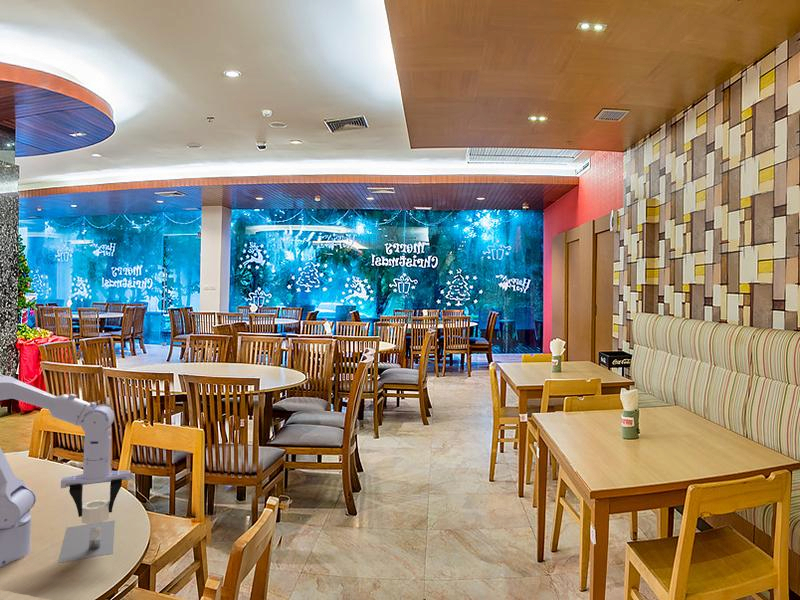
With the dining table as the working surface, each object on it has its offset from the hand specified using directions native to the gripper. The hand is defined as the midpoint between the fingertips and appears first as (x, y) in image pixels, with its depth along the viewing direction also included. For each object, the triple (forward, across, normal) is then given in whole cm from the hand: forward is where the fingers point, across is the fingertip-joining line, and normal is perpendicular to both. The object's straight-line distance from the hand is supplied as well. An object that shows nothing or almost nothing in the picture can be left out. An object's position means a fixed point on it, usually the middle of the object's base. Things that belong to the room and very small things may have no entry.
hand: (95, 513), depth 126 cm
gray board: (+10, +2, -5) cm, 11 cm away
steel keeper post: (+8, 0, 0) cm, 8 cm away
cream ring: (+1, 0, 0) cm, 1 cm away
